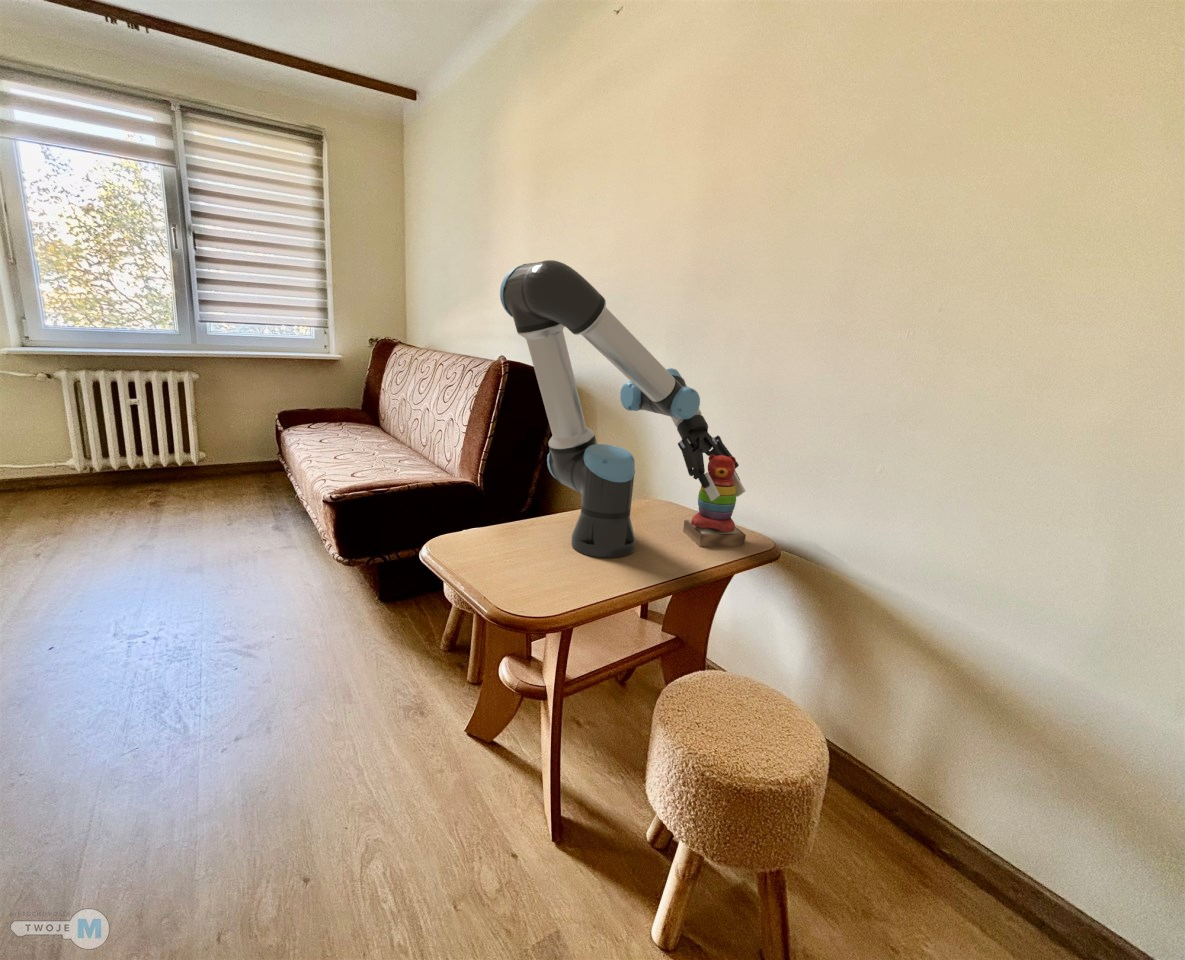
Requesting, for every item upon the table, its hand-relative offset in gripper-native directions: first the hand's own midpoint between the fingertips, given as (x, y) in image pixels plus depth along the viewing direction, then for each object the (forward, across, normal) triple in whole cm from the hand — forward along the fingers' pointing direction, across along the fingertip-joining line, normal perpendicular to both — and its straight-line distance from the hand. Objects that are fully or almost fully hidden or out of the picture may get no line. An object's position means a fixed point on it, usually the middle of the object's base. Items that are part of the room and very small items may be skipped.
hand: (728, 496), depth 135 cm
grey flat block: (+6, 0, -11) cm, 13 cm away
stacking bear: (+4, 0, -8) cm, 9 cm away
